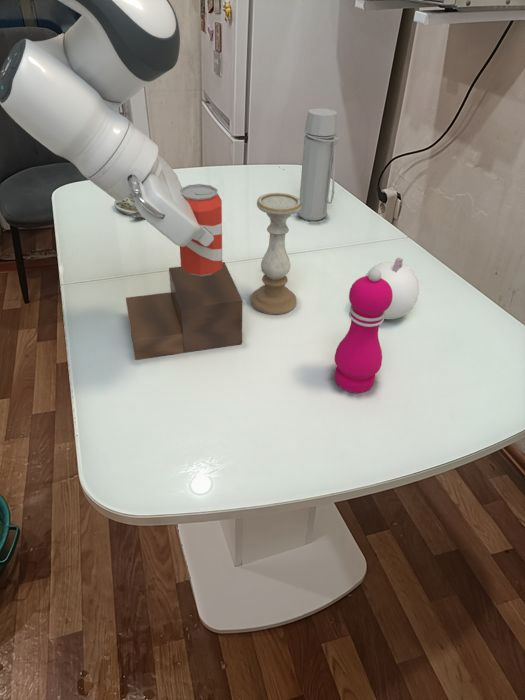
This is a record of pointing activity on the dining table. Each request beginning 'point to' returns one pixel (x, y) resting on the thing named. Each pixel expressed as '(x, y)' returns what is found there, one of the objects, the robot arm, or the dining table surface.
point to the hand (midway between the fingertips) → (204, 228)
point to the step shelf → (187, 315)
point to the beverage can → (209, 216)
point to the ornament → (399, 287)
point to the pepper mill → (363, 334)
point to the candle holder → (276, 255)
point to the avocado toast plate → (127, 207)
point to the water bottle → (318, 163)
